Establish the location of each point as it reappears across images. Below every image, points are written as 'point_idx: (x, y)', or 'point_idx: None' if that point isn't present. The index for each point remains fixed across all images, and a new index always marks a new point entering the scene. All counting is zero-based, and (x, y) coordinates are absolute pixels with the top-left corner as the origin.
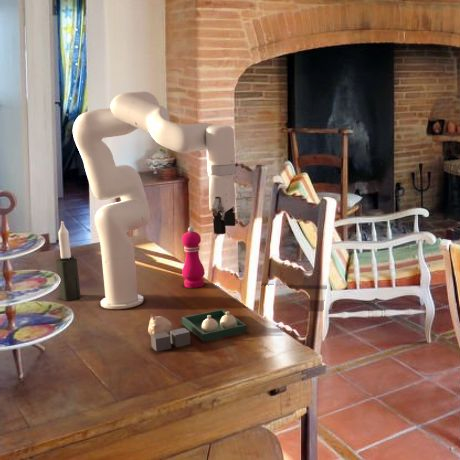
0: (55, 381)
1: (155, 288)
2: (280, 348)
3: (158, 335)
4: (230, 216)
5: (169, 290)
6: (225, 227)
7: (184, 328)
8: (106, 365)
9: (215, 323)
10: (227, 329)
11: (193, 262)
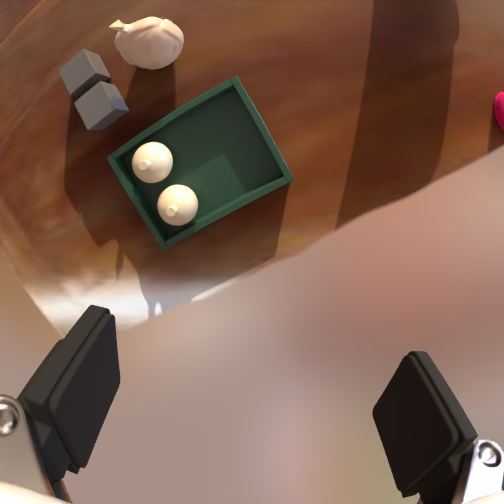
0: None
1: (491, 35)
2: None
3: (76, 67)
4: (407, 453)
5: (483, 58)
6: (101, 418)
7: (109, 110)
8: (45, 16)
9: (142, 180)
10: (136, 208)
11: None
